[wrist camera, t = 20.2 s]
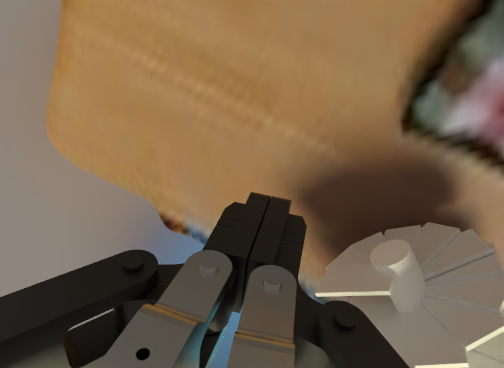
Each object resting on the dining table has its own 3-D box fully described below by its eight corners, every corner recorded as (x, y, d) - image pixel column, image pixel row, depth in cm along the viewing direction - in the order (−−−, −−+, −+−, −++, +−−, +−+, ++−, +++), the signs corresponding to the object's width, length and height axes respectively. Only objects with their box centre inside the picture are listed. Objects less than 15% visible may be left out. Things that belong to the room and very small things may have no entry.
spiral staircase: (419, 183, 44) (487, 330, 51) (294, 257, 44) (378, 394, 51) (560, 241, 26) (637, 456, 33) (351, 364, 27) (468, 552, 33)
